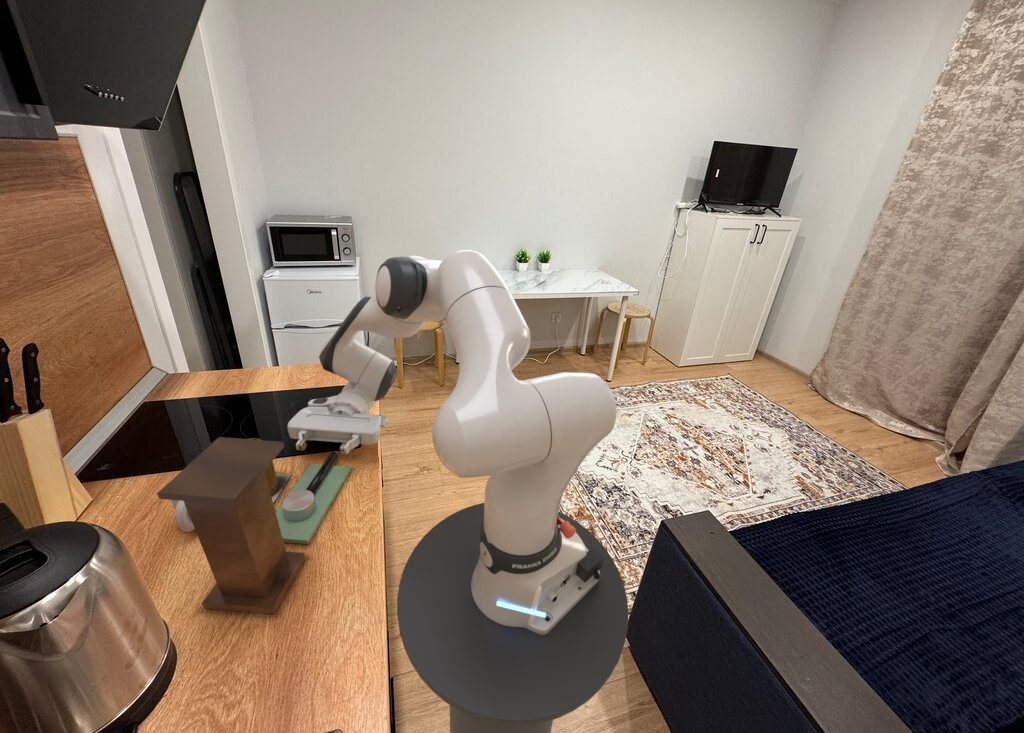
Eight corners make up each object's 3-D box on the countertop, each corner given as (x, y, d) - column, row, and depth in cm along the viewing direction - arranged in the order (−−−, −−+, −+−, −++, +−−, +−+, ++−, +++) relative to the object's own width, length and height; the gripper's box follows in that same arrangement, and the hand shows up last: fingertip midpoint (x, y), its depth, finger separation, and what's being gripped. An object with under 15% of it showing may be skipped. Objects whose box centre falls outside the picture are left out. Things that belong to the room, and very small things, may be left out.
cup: (233, 500, 84) (222, 466, 80) (210, 541, 75) (196, 505, 71) (193, 503, 82) (179, 468, 78) (165, 545, 74) (148, 509, 70)
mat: (311, 467, 94) (310, 463, 93) (350, 470, 93) (350, 466, 93) (259, 540, 76) (258, 536, 75) (308, 544, 76) (307, 540, 75)
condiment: (236, 503, 83) (220, 455, 78) (257, 474, 91) (245, 428, 85) (273, 503, 84) (261, 456, 78) (292, 474, 91) (281, 430, 86)
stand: (250, 544, 75) (215, 436, 64) (311, 549, 75) (286, 441, 64) (204, 609, 64) (152, 493, 53) (274, 614, 64) (237, 499, 53)
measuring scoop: (323, 455, 96) (322, 445, 95) (347, 457, 96) (346, 447, 95) (278, 520, 79) (275, 510, 77) (308, 523, 79) (305, 512, 77)
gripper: (390, 427, 102) (371, 464, 90) (308, 420, 102) (277, 457, 90) (388, 405, 99) (368, 441, 87) (303, 399, 99) (271, 433, 87)
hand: (321, 449), depth 88 cm, fingers open, 8 cm apart
